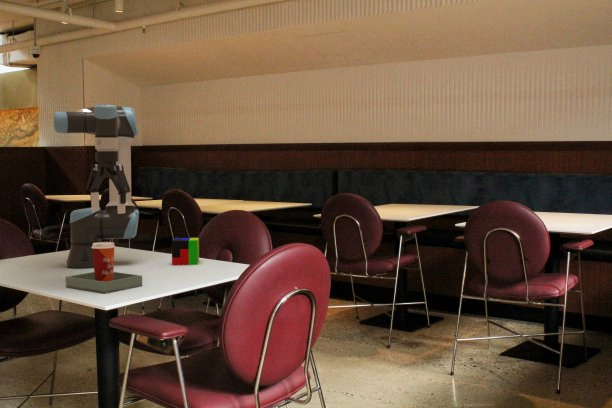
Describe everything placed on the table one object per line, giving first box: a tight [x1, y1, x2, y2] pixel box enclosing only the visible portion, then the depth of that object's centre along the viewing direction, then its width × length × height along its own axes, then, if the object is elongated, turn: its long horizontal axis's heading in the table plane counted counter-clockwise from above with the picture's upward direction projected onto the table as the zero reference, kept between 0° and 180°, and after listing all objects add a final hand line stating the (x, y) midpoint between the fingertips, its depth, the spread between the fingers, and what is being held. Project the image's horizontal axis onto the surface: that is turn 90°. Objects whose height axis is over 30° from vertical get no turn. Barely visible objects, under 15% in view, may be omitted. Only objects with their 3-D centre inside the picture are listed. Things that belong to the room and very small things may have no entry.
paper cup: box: [91, 241, 116, 282], centre depth 227 cm, size 8×8×14 cm
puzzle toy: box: [171, 237, 200, 266], centre depth 278 cm, size 10×10×10 cm
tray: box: [65, 271, 143, 294], centre depth 228 cm, size 20×16×4 cm
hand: (108, 212), depth 235 cm, fingers open, 13 cm apart
